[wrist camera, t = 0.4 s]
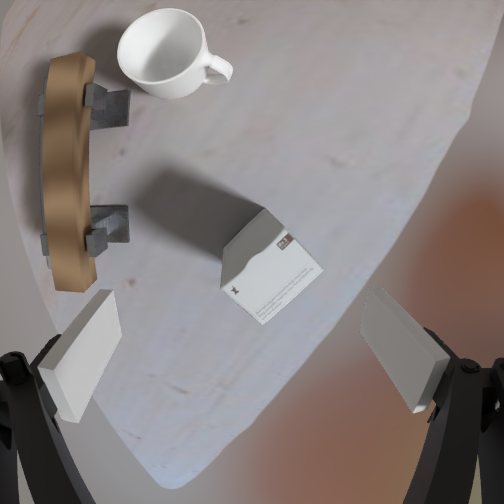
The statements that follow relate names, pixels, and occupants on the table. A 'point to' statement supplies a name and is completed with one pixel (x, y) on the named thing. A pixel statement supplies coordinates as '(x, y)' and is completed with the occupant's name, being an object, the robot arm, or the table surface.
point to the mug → (169, 54)
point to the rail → (68, 171)
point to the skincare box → (265, 267)
